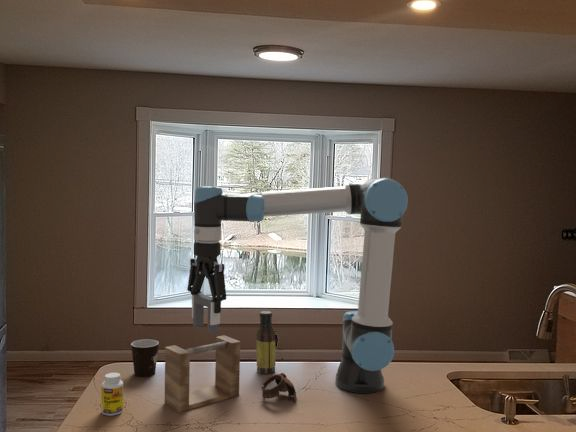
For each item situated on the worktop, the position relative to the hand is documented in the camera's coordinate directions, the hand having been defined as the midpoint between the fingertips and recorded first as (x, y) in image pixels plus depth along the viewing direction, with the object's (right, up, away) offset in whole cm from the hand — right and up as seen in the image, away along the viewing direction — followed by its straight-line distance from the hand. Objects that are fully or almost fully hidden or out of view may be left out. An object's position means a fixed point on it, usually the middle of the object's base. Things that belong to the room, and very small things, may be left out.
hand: (205, 320), depth 159 cm
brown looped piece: (+21, -24, +4) cm, 32 cm away
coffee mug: (-23, -21, +20) cm, 37 cm away
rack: (-1, -23, +2) cm, 23 cm away
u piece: (0, -2, 0) cm, 2 cm away
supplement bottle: (-24, -23, -8) cm, 34 cm away
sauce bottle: (+16, -22, +27) cm, 38 cm away
